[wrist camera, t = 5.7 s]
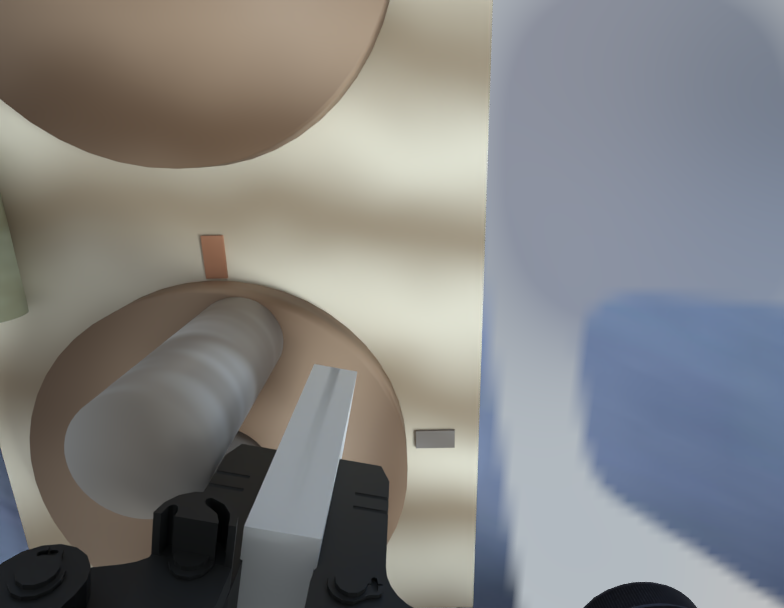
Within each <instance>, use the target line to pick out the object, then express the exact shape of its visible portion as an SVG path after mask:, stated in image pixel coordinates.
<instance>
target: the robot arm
mask: <svg viewBox="0 0 784 608" xmlns="http://www.w3.org/2000/svg"><path fill="white" fill-rule="evenodd" d="M356 376H357V371H351V370H345V369H340V368H334V367H328V366H323V365H317V364H314V366H313V368H312V370H311V373H310V375H309V377H308V379H307V382H306V384H305V386H304V389H303V391H302V393H301V396H300V398H299V400H298V403H297V405H296V407H295V410H294V412H293V414H292V416H291V419H290V421H289V423H288V426H287V428H286V430H285V433H284V435H283V437H282V440H281V442H280V444H279V447H278V449H277V450H276V449H270V448H264V447H258V446H253V445H247V444H241V445H239V446H238V447H236V448H235V449H233V450H232V451H231V452H229V453H228V454H226V455H225V457H224V458H223V460H222V462H221V463H220V465H219V467H218V468H217V470H216V473H214V475H213V477H212V478H211V480H210V482H209V484H208V486H207V487H206V488H205V490H204V492H191V493H186V494H181V495H178V496H176V497H174V498H172V499H170V500H168V501H165V502H164V503H163V504H162V505H161V506H160V507H158V508H157V509H156V510H155V511H154V512H153V528H152V546H151V555H150V557H148V558H145V559H142V560H139V561H137V562H131V563H126V564H119V565H109V566H99V567H91V566H90V562H89V559H88V556H87V554H85V553H84V552H83V551H81V550H80V549H79V548H77V547H73V546H69V545H64V544H54V545H42V546H39V547H36V548H33V549H29V550H26V551H23V552H21V553H19V554H17V555H15V556H14V557H12V558H10V559H8V560H7V561H5V562H3V563H2V564H0V608H413V607H411V606H410V605H408V604H407V603H405V602H404V601H403V600H402V599H401V598H400V597H399V596H398V595H397V594H396V592H395V591H394V590H393V588H392V587H391V585H390V582H389V580H388V577H387V572H386V553H387V529H388V505H389V501H388V499H389V480H388V478H387V476H386V474H385V472H384V470H383V468H382V466H378V465H372V464H366V463H360V462H355V461H349V460H343V459H342V454H343V449H344V443H345V438H346V432H347V427H348V421H349V415H350V410H351V404H352V399H353V393H354V387H355V382H356Z"/></svg>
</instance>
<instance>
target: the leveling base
mask: <svg viewBox="0 0 784 608" xmlns="http://www.w3.org/2000/svg"><path fill="white" fill-rule="evenodd" d="M492 6H493V0H390V1H389V5H388V9H387V12H386V16H385V19H384V23H383V25H382V28H381V30H380V33H379V35H378V38H377V40H376V42H375V45H374V47H373V50H372V52H371V54H370V56H369V57H368V59H367V61H366V63H365V64H364V66H363V68H362V70H361V71H360V73H359V75H358V77H357V78H356V80H355V81H354V82H353V84H352V85H351V86H350V88H349V89H348V90H347V92H346V93H345V94H344V96H343V97H342V98H341V100H340V101H339V102H338V103H337V104H336V105H335V106H334V107H333V108H332V109H331V110H330V111H329V112H328V113H327V114H326V115H325V116H324V117H323V118H322V119H321V120H320V121H319V122H317V123H316V124H315V125H313V126H312V127H311V128H310V129H308V130H307V131H306V132H304V133H303V134H302V135H300V136H299V137H298V138H296V139H294V140H292V141H290V142H289V143H287V144H285V145H283V146H282V147H280V148H278V149H276V150H274V151H271V152H269V153H266V154H264V155H261V156H259V157H256V158H254V159H251V160H247V161H242V162H238V163H234V164H230V165H224V166H213V167H203V168H185V169H170V168H148V167H143V166H137V165H131V164H126V163H120V162H116V161H113V160H110V159H107V158H103V157H100V156H97V155H94V154H91V153H88V152H86V151H83V150H81V149H79V148H77V147H75V146H72V145H70V144H68V143H66V142H63V141H61V140H59V139H57V138H56V137H54V136H52V135H51V134H49V133H47V132H46V131H44V130H42V129H41V128H39V127H37V126H36V125H34V124H32V123H31V122H29V121H28V120H27V119H25V118H24V117H23V116H22V115H20V114H19V113H18V112H16V111H15V110H14V109H12V108H11V107H10V106H8V105H7V104H6V103H4V102H3V101H2V100H1V99H0V448H1V451H2V455H3V459H4V462H5V466H6V469H7V473H8V476H9V480H10V483H11V487H12V490H13V494H14V497H15V501H16V505H17V508H18V512H19V515H20V519H21V522H22V526H23V529H24V533H25V536H26V540H27V544H28V547H29V549H33V548H36V547H39V546H42V545H54V544H64V545H69V546H72V545H71V544H70V543H69V542H68V541H67V540H66V538H65V537H64V535H63V534H62V533H61V531H60V530H59V528H58V527H57V525H56V524H55V523H54V521H53V519H52V518H51V516H50V514H49V512H48V510H47V508H46V506H45V504H44V502H43V500H42V497H41V495H40V492H39V489H38V487H37V484H36V481H35V477H34V472H33V468H32V463H31V455H30V439H29V437H30V426H31V416H32V412H33V408H34V405H35V401H36V397H37V394H38V392H39V389H40V387H41V385H42V383H43V380H44V378H45V376H46V374H47V373H48V371H49V370H50V368H51V367H52V365H53V363H54V362H55V360H56V359H57V357H58V356H59V355H60V354H61V353H62V352H63V351H64V349H65V348H66V347H67V346H68V345H69V344H70V343H71V342H72V341H73V340H74V339H75V338H76V337H77V336H79V335H80V334H81V333H82V332H84V331H85V330H86V329H87V328H89V327H90V326H91V325H92V324H94V323H96V322H97V321H99V320H101V319H103V318H104V317H106V316H108V315H110V314H111V313H113V312H115V311H117V310H119V309H120V308H122V307H124V306H126V305H128V304H129V303H131V302H133V301H135V300H137V299H138V298H140V297H143V296H145V295H148V294H150V293H153V292H155V291H158V290H160V289H163V288H168V287H172V286H176V285H180V284H184V283H191V282H201V281H238V282H245V283H251V284H258V285H262V286H266V287H270V288H273V289H277V290H280V291H284V292H286V293H289V294H291V295H294V296H296V297H298V298H301V299H303V300H306V301H308V302H309V303H311V304H313V305H315V306H317V307H318V308H320V309H322V310H324V311H325V312H327V313H329V314H330V315H331V316H333V317H334V318H335V319H337V320H338V321H339V322H341V323H342V324H344V325H345V326H346V327H348V328H349V329H350V330H351V331H352V332H353V333H354V334H355V335H356V336H357V337H358V338H359V339H360V340H361V341H362V342H363V343H364V344H365V345H366V346H367V347H368V349H369V350H370V351H371V352H372V354H373V355H374V356H375V357H376V359H377V360H378V361H379V363H380V364H381V366H382V368H383V369H384V371H385V373H386V374H387V376H388V378H389V379H390V381H391V383H392V386H393V388H394V390H395V393H396V395H397V398H398V400H399V403H400V407H401V411H402V414H403V418H404V424H405V433H406V442H407V464H408V472H407V490H406V496H405V501H404V506H403V510H402V513H401V516H400V518H399V521H398V524H397V527H396V529H395V531H394V533H393V535H392V536H391V538H390V540H389V542H388V544H387V553H386V572H387V577H388V580H389V582H390V585H391V587H392V588H393V590H394V591H395V592H396V594H397V595H398V596H399V597H400V598H401V599H402V600H403V601H404V602H405V603H407V604H408V605H410V606H411V607H413V608H455V607H473V594H474V563H475V532H476V501H477V470H478V439H479V408H480V378H481V347H482V316H483V285H484V254H485V223H486V192H487V161H488V160H487V159H488V130H489V129H488V128H489V99H490V68H491V66H490V65H491V37H492ZM90 566H91V567H93V566H92V565H91V564H90Z"/></svg>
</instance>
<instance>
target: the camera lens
mask: <svg viewBox="0 0 784 608" xmlns="http://www.w3.org/2000/svg"><path fill="white" fill-rule="evenodd" d="M584 608H697V607H696V606H695V605H694V603H693V602H692V601H691V600H690V599H689V598H688V597H686V596H685V595H684V594H682V593H681V592H680V591H678V590H676V589H674V588H672V587H669V586H667V585H662V584H658V583H653V582H635V583H628V584H623V585H620V586H617V587H614V588H611V589H608V590H606V591H605V592H603V593H601V594H600V595H598V596H596V597H594V598H593V599H592V600H591V601H590V602H589V603H588V604H587V605H586V606H585V607H584Z"/></svg>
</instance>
